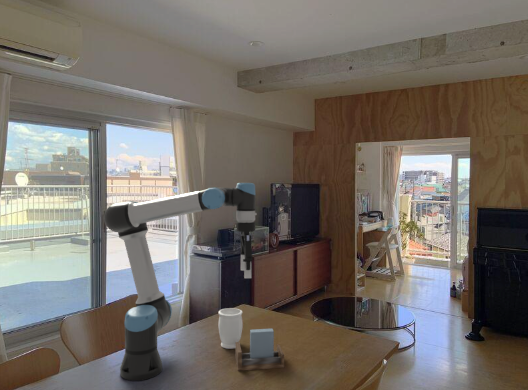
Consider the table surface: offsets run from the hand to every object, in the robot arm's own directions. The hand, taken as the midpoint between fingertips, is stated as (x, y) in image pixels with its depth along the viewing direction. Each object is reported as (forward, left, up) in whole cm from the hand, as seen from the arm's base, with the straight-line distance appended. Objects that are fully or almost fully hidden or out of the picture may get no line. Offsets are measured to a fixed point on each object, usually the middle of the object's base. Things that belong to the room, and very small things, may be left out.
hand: (245, 274), depth 158 cm
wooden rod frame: (+5, -4, -35) cm, 35 cm away
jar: (-5, +15, -35) cm, 38 cm away
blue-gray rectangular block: (+6, -4, -34) cm, 34 cm away
